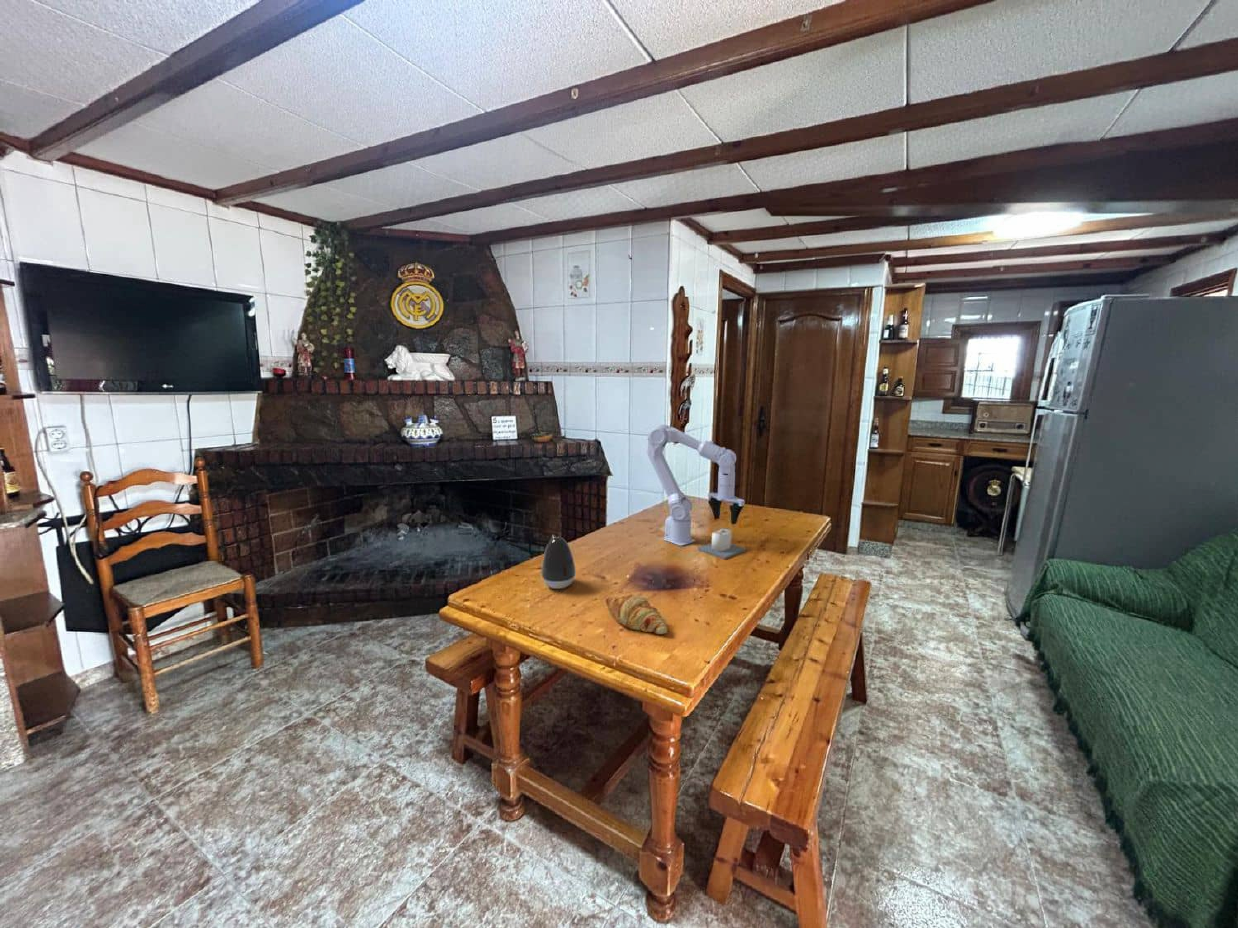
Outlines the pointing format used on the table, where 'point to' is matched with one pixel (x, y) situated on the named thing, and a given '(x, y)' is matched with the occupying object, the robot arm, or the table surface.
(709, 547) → the slate mat
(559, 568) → the dark grey egg shape
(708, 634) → the table surface
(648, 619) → the croissant
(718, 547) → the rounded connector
